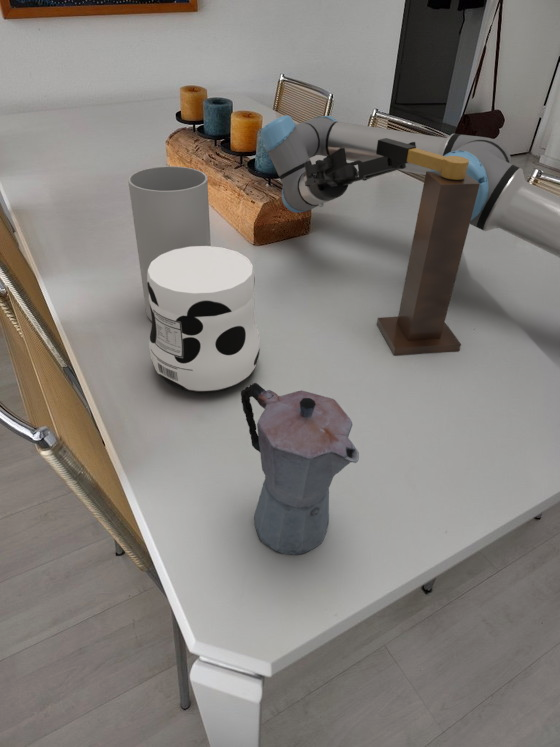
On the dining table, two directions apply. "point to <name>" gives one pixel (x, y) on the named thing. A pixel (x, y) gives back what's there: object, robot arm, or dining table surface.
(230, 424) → the dining table surface
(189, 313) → the milk container
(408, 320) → the stand
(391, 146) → the lever
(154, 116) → the dining table surface
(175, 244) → the cylinder vase
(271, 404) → the moka pot
